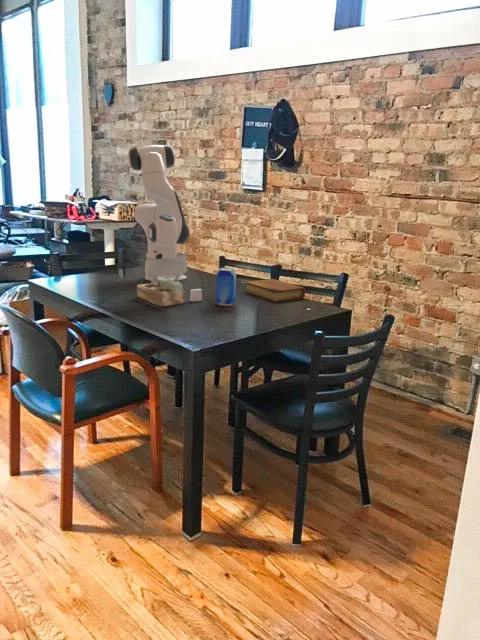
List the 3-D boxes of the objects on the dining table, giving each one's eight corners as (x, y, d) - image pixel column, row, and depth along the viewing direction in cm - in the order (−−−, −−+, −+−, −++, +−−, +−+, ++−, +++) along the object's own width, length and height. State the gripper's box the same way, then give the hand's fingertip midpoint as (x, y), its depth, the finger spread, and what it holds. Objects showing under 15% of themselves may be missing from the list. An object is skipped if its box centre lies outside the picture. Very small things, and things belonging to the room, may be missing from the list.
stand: (177, 292, 251) (177, 281, 249) (201, 301, 237) (202, 289, 235) (168, 294, 248) (168, 282, 246) (192, 302, 234) (192, 290, 232)
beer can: (237, 303, 235) (239, 268, 231) (231, 308, 228) (232, 271, 223) (220, 301, 238) (221, 266, 234) (213, 305, 230) (214, 269, 226)
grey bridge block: (157, 293, 244) (157, 276, 242) (182, 302, 230) (182, 284, 227) (151, 293, 242) (151, 276, 240) (175, 303, 227) (175, 284, 225)
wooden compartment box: (160, 295, 245) (160, 282, 244) (184, 304, 231) (184, 290, 229) (137, 297, 238) (137, 284, 236) (160, 307, 223) (161, 293, 221)
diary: (304, 299, 254) (305, 287, 252) (275, 303, 243) (276, 291, 241) (273, 289, 271) (274, 278, 270) (244, 292, 260) (245, 281, 258)
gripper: (182, 251, 239) (181, 281, 243) (142, 253, 226) (142, 285, 230) (190, 253, 235) (189, 283, 238) (150, 256, 222) (150, 288, 225)
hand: (166, 284), depth 234 cm, fingers open, 8 cm apart
